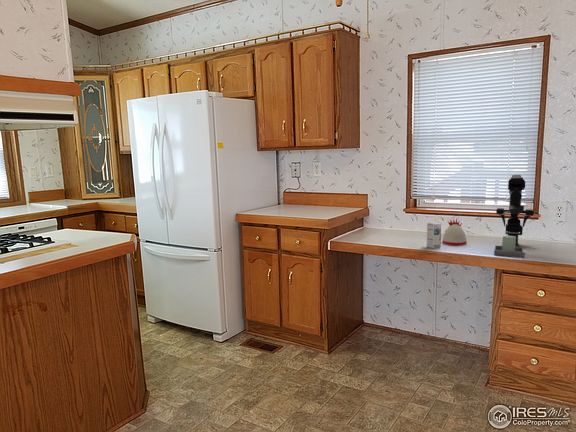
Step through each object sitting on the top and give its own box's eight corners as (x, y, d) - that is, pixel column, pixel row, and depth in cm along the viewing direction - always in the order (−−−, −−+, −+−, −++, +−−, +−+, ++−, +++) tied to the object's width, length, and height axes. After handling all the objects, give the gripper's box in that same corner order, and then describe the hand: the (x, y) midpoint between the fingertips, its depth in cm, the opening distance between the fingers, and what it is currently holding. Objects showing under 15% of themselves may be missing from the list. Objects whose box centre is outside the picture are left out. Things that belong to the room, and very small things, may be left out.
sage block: (501, 252, 246) (502, 236, 245) (505, 251, 250) (506, 235, 248) (511, 254, 243) (512, 237, 241) (514, 252, 246) (515, 236, 245)
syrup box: (433, 248, 262) (433, 223, 260) (426, 246, 267) (426, 222, 265) (440, 247, 264) (441, 223, 262) (433, 245, 269) (434, 221, 267)
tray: (494, 249, 255) (495, 245, 255) (522, 251, 249) (522, 247, 249) (494, 255, 243) (494, 250, 243) (523, 257, 237) (523, 252, 237)
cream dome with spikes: (442, 240, 284) (443, 216, 282) (466, 241, 280) (467, 217, 277) (442, 244, 271) (443, 220, 269) (466, 246, 267) (467, 221, 264)
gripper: (496, 200, 249) (495, 228, 251) (535, 201, 240) (533, 230, 243) (497, 198, 259) (495, 224, 261) (534, 199, 250) (532, 227, 253)
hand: (513, 226), depth 254 cm, fingers open, 9 cm apart
